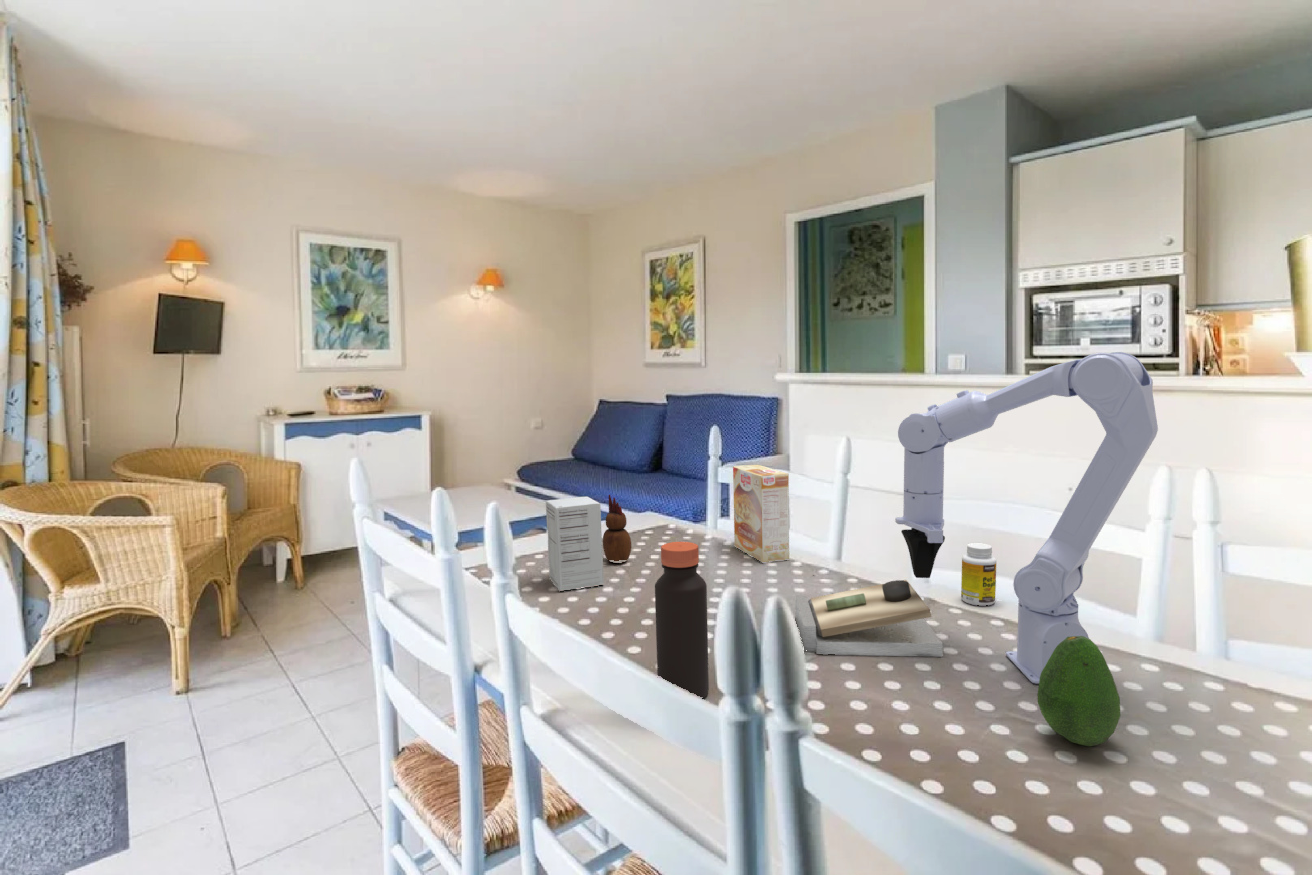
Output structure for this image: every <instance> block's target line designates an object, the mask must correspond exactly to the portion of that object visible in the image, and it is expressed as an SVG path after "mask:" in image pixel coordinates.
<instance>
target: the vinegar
mask: <svg viewBox="0 0 1312 875" xmlns="http://www.w3.org/2000/svg"><path fill="white" fill-rule="evenodd" d="M699 548H700V547H699V545H698V544H696V543H694V542H690V541H672V542H667V543H663V544H662V545H661V546H660V561H661V567H662V569H663V574H662V575H661V576H660V577H658V579H657V580H656V582H655V584H654V601H655V602H654V604H655V609H654V610H655V637H656V639H655V640H656V669H657V671H656V673H657V675H658V676H661V677H662V678H663V679H665V680H667V681H669V682H671V683H672V684H676V685H677V686H679V687H681V688H683V689H686V690H688V691H689V692H690V693H694V694H696V695H697V696H700V697H703V699H705V698H706V697H707V696H708V694H709V689H710V684H709V681H710V679H709V676H710V675H709V643H708V642H709V640H708V639H709V638H708V597H707V596H708V595H707V594H708V590H707V588H708V587H707V582H706V581H705V579H704V578H703V577H702V576H701V574H699V573H698V572H697V569H698V568H699V562H700V560H699V559H700V557H699V555H700V554H699V552H700V551H699Z"/></svg>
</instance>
